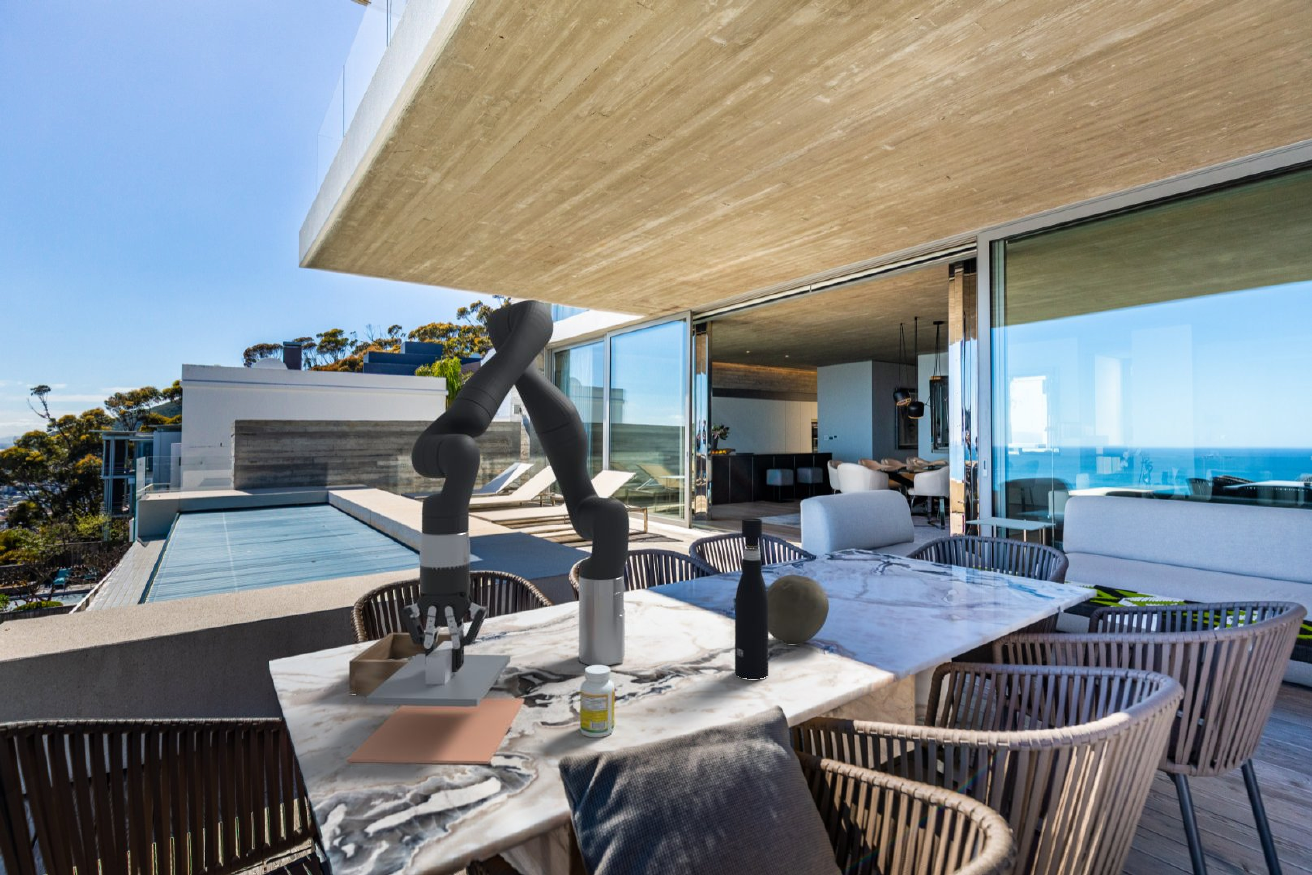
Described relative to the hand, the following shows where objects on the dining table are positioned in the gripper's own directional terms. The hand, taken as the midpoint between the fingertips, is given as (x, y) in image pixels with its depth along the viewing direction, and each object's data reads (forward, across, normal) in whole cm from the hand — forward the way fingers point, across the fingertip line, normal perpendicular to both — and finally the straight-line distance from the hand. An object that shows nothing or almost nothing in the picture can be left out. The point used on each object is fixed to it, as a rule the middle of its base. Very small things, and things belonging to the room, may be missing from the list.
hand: (444, 670), depth 103 cm
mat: (+9, 0, 0) cm, 9 cm away
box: (+9, +14, -21) cm, 27 cm away
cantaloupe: (+9, -63, -45) cm, 78 cm away
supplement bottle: (+9, -24, 0) cm, 26 cm away
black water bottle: (+9, -51, -25) cm, 58 cm away
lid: (+2, 0, 0) cm, 2 cm away
